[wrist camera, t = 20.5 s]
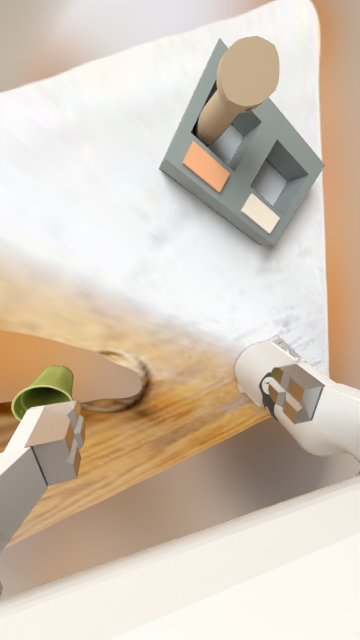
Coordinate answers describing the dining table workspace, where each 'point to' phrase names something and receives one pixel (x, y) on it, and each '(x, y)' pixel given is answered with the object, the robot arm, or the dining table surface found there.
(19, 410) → the plant pot
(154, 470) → the dining table surface
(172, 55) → the dining table surface
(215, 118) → the handle
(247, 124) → the socket board
